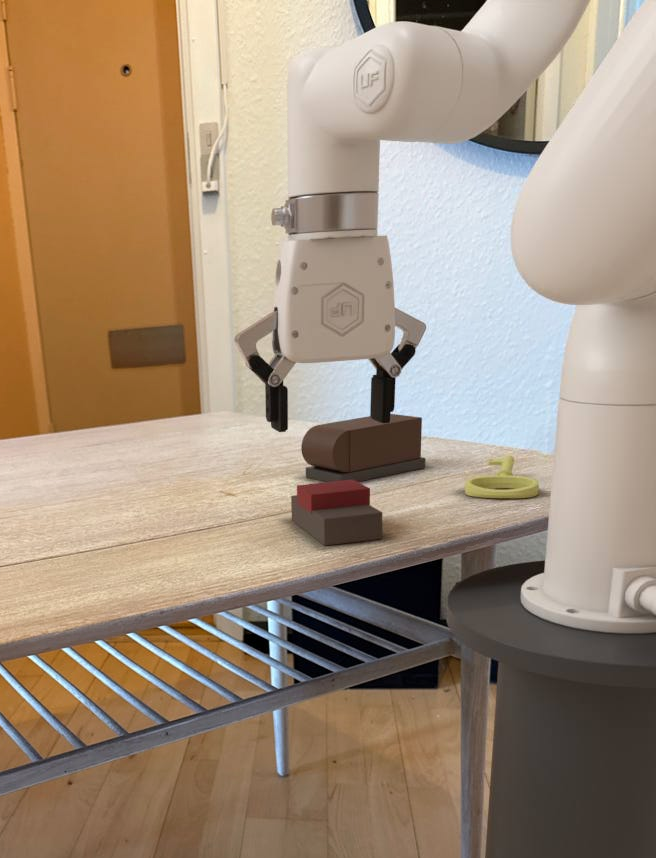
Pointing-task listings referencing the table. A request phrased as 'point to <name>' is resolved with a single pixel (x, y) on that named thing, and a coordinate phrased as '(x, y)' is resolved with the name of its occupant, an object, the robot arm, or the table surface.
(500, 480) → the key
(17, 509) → the table surface
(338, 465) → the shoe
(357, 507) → the two-tier step block
